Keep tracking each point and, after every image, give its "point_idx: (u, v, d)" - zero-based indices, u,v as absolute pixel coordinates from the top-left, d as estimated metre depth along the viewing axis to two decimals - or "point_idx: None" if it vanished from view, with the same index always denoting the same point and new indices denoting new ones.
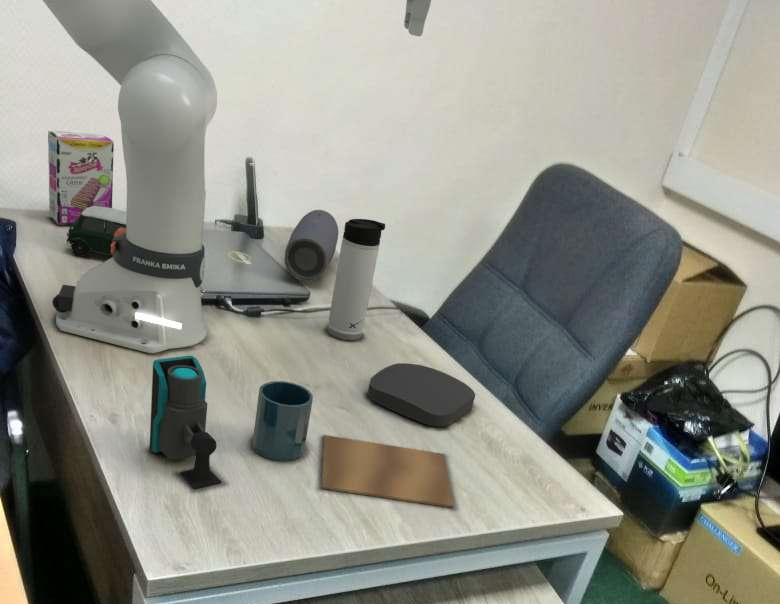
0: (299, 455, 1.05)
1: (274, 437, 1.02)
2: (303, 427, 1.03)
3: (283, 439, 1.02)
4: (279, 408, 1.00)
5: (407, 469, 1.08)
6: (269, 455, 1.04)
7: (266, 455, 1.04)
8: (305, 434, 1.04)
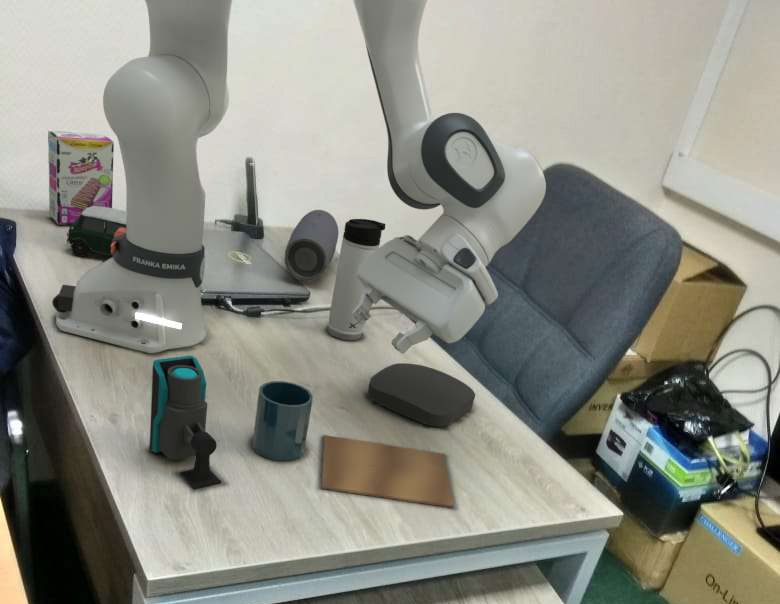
0: (299, 455, 1.05)
1: (274, 437, 1.02)
2: (303, 427, 1.03)
3: (283, 439, 1.02)
4: (279, 408, 1.00)
5: (407, 469, 1.08)
6: (269, 455, 1.04)
7: (266, 455, 1.04)
8: (305, 434, 1.04)
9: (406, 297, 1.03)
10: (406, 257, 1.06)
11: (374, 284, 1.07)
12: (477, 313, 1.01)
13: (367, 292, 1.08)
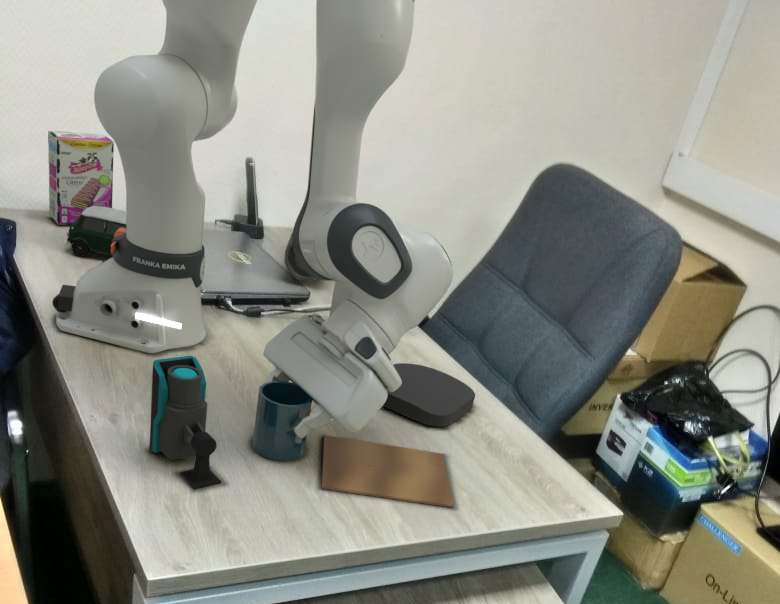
0: (299, 455, 1.05)
1: (274, 437, 1.02)
2: None
3: (283, 439, 1.02)
4: (279, 408, 1.00)
5: (407, 469, 1.08)
6: (269, 455, 1.04)
7: (266, 455, 1.04)
8: None
9: (309, 383, 1.02)
10: (312, 339, 1.05)
11: (279, 365, 1.05)
12: (379, 403, 0.99)
13: (275, 374, 1.06)
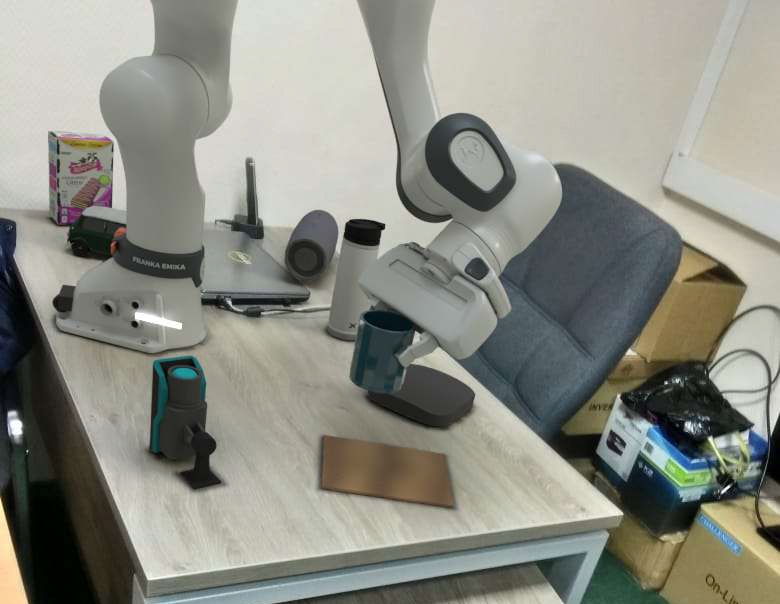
0: (399, 388, 1.00)
1: (376, 367, 0.97)
2: None
3: (385, 369, 0.97)
4: (383, 334, 0.94)
5: (407, 469, 1.08)
6: (369, 387, 0.98)
7: (366, 388, 0.98)
8: None
9: (413, 309, 0.96)
10: (413, 266, 0.99)
11: (378, 294, 1.00)
12: (489, 328, 0.94)
13: (372, 304, 1.01)
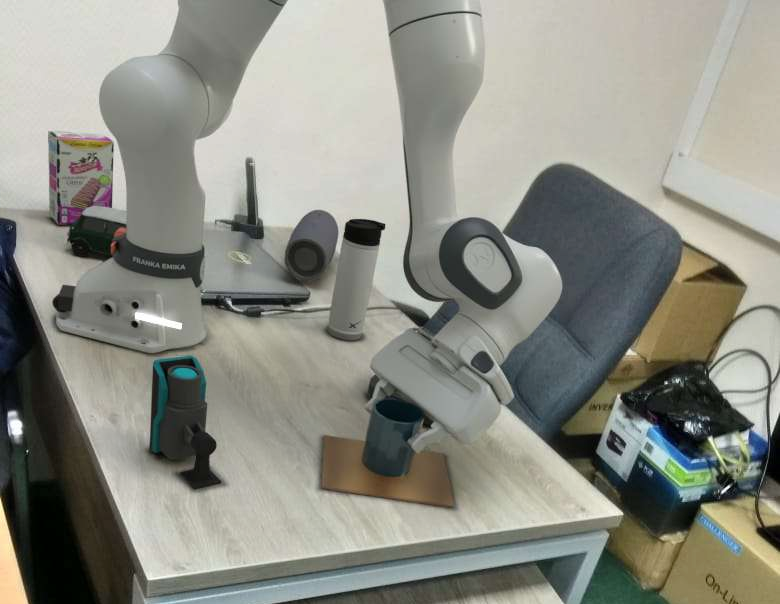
0: (408, 471, 1.07)
1: (387, 454, 1.04)
2: None
3: (395, 456, 1.04)
4: (394, 425, 1.01)
5: None
6: (380, 471, 1.05)
7: (377, 471, 1.05)
8: None
9: (422, 396, 1.03)
10: (421, 352, 1.06)
11: (388, 378, 1.07)
12: (493, 416, 1.00)
13: (381, 385, 1.08)
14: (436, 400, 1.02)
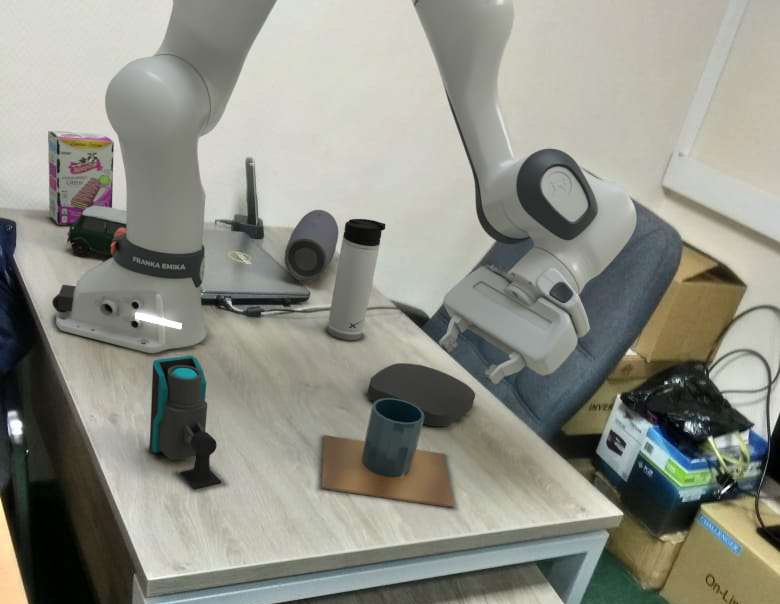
0: (408, 471, 1.07)
1: (387, 454, 1.04)
2: (414, 444, 1.05)
3: (395, 456, 1.04)
4: (394, 425, 1.01)
5: None
6: (380, 471, 1.05)
7: (377, 471, 1.05)
8: (415, 450, 1.06)
9: (499, 328, 1.04)
10: (496, 287, 1.07)
11: (463, 313, 1.08)
12: (571, 346, 1.02)
13: (455, 321, 1.09)
14: (514, 331, 1.03)
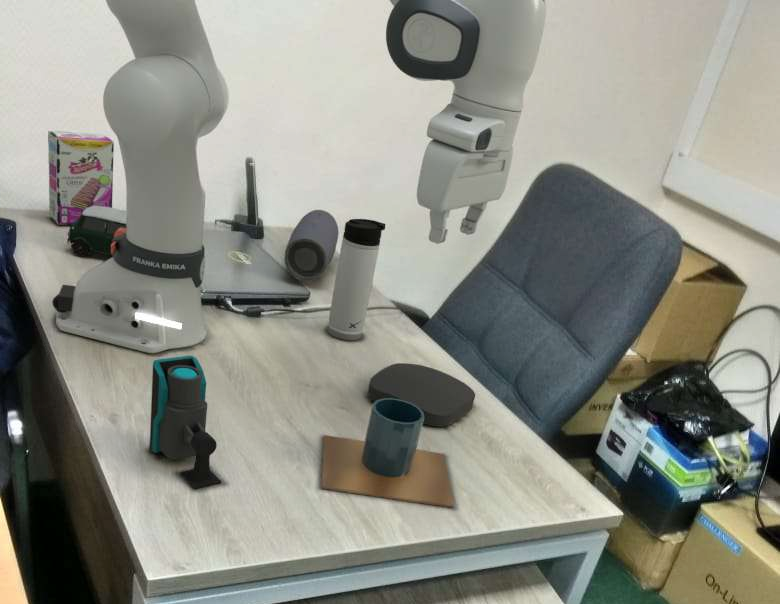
0: (408, 471, 1.07)
1: (387, 454, 1.04)
2: (414, 444, 1.05)
3: (395, 456, 1.04)
4: (394, 425, 1.01)
5: None
6: (380, 471, 1.05)
7: (377, 471, 1.05)
8: (415, 450, 1.06)
9: None
10: None
11: None
12: (446, 167, 0.95)
13: None
14: None
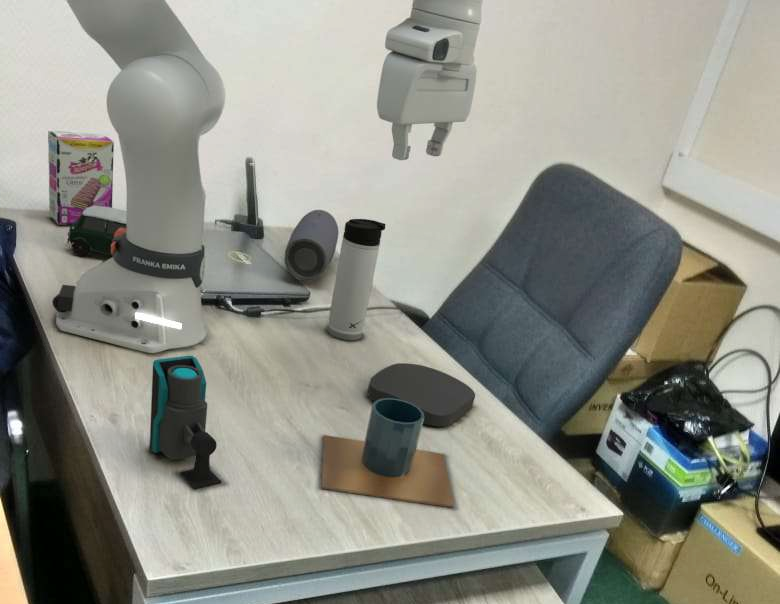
0: (408, 471, 1.07)
1: (387, 454, 1.04)
2: (414, 444, 1.05)
3: (395, 456, 1.04)
4: (394, 425, 1.01)
5: None
6: (380, 471, 1.05)
7: (377, 471, 1.05)
8: (415, 450, 1.06)
9: None
10: None
11: None
12: (404, 77, 0.97)
13: None
14: None
